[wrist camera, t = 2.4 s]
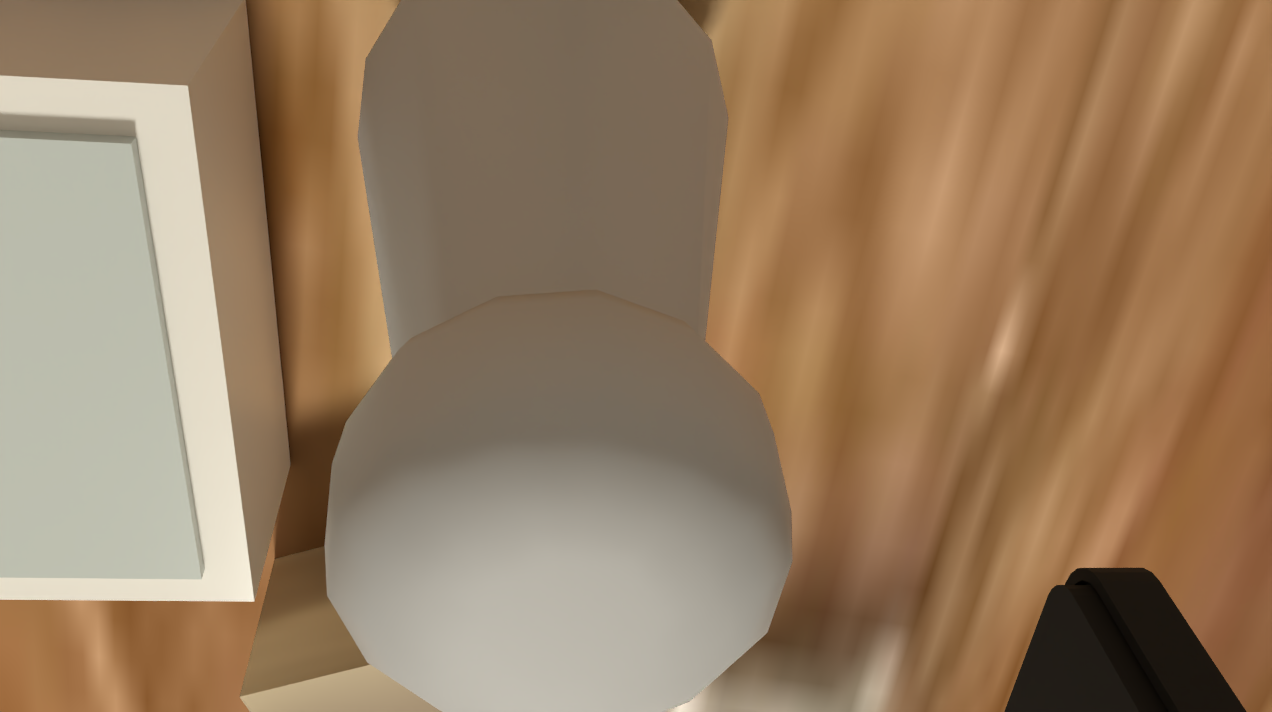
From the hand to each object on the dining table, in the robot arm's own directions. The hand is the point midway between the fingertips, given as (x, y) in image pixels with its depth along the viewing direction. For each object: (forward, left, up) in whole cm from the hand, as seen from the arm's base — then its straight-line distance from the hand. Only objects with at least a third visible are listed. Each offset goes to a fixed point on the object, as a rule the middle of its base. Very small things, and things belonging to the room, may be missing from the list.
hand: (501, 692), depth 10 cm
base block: (+4, -10, -13) cm, 17 cm away
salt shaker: (0, 0, -14) cm, 14 cm away
